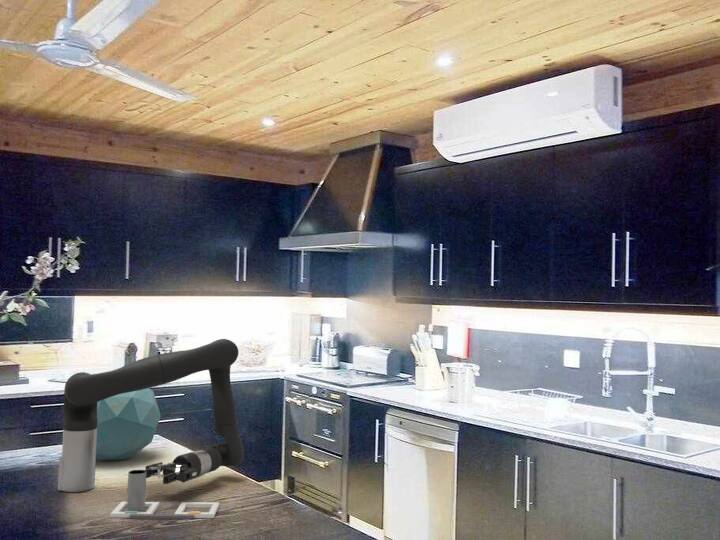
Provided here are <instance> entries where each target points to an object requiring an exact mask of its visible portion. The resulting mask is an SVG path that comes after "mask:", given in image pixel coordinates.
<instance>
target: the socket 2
mask: <svg viewBox="0 0 720 540" xmlns="http://www.w3.org/2000/svg"><path fill="white" fill-rule="evenodd" d="M219 507H220V502H218V501H217V502H214V501H213V502H212V501H211V502H210V501H209V502H205V501H204V502H202V501H201V502H200V501H199V502H198V501H197V502H195V501H194V502H193V501H192V502H191V501H182V502H181V503H180V505H179V506H178V508H177V509H176V510H175V512H174V514H173V515H194V519H214V518H215V516H216V514H217V512H218V509H219ZM189 508H190V509H195V508H196V509H197V508H200V509H204V508H205V509H206V508H207V509H209V511H207V512H206V511H204V512H202V511H198V510H197V511H192V510H189V511H185V510H186V509H189Z"/></svg>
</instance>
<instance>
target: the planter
mask: <svg viewBox="0 0 720 540" xmlns="http://www.w3.org/2000/svg"><path fill="white" fill-rule="evenodd" d="M127 476H128V478H127V497H126V502H127V507H126V511H138V512H146V507H145V502H146V495H147V494H146V491H147V478H146V471H145V469H132V470H129V471H128V475H127Z"/></svg>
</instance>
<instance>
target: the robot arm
mask: <svg viewBox="0 0 720 540" xmlns="http://www.w3.org/2000/svg"><path fill="white" fill-rule="evenodd" d="M238 356H239V348H238V346H237V345H236V343H235V342H234V341H232V340H230V339H227V338H219V339H216V340H213V341H212V342H210V343H207V344H204V345H202V346H199V347H195V348H192V349H187V350H185V349H184V350H177V351H171V352H164V353H160V354H155V355H151V356H147V357H143V358H140V359H138V360H135V361H133V362H130V363H128V364H126V365H123V366H122V367H119V368H117V369H113V370H110V371H109V370H108V371H105V372H99V373H93V374H91V373H89V372H76V373H74V374H72V375H70V377H69V378H68V379H67V380H66V381H65V382H66V383H65V385H64V391H63V392H64V394H63V412H62V413H63V416H62V417H63V421H62V422H63V423H62V424H63V429H62V430H63V431H62V446H61V447H62V450H61V455H60V456H59V458H58V478H57V491H63V492H67V493H78V492H79V493H80V492H86V491H89V490H92V489H94V488H95V485H96V484H95V483H96V465H97V464H96V463H97V459H96V445H97V423H98V418H97V402H98V401H101V400H104V399H106V398H109V397H112V396H115V395H118V394H122V393H127V392H133V391H138V390H142V389H147V388H149V389H151V388H154V387H158V386H162V385H166V384H169V383H172V382H175V381H177V380H180V379H183V378H186V377H188V376H190V375H194V374H196V373H199V372H204V371H208V372H209V377H210V385H211V393H212V411H213V414H212V415H213V425H214V426H213V428H214V429H213V430H214V433H215V435H217V436H221V437H223V438H224V440H225V442H219V443H215V444H212V445H211V446H209V447H208V448H204V449H201V450H193V451H191V452H186V453H183V454H180V455H178V456H176V457H175V458H173V461H172V462H167V463H163V462H162V461H160V462H156V463H151V464H149V465H146V466H145V469H144V470H145V471H146V479H149V478H155V477H157V478H158V479H161V478H162V484H164V485H167V484H171V483H179V482H181V483H186V482H189V481H191V480H195V479H197V478H201V477H202V476H205V475H206V474H210V473H211V472H214V471H216V470H218V469H219V468H220V467H236V466H238V465H240V464H241V463H242V462H243V460H244V458H245V457H244V456H245V449H244V445H243V441H242V439H241V435H240V432H239V430H238V427H237V425H238V423H237V411H236V410H237V409H236V404H235V399H234V394H233V391H232V390H233V389H232V385H231V384H232V383H231V366H232V365H233V364H235V362H236V361H237V360H238ZM161 473H162V474H161Z"/></svg>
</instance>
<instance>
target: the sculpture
mask: <svg viewBox="0 0 720 540" xmlns="http://www.w3.org/2000/svg"><path fill="white" fill-rule="evenodd" d="M97 418H98V423H97V445H96V461H99V462H104V461H105V462H107V461H106V460H109V461H125V460H126V461H127V460H130V459H131V458H132V457H134V456H135V455H136V454H137V453H139V452H140V451H142V450H143V449H145V448H146V447H147V446H149V445H150V444H151V443H152V442H153V439H154V437H155V434H156V430H157V429H158V428H157V427H158V424H159V422H160V421H161V420H160V419H161V412H160V409H159V405H158V402H157V400H156V396H155V393H154V390H152V389H151V388H147V389H142V390H138V391H133V392H127V393H122V394H118V395H115V396H112V397H109V398H106V399H104V400H101V401H98V402H97Z"/></svg>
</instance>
